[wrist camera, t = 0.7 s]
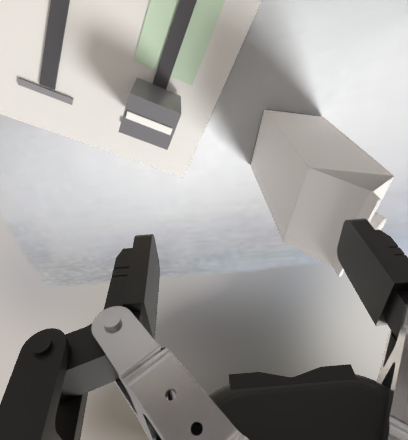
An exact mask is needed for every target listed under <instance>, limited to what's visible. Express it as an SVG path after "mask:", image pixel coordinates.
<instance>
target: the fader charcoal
mask: <svg viewBox="0 0 408 440" xmlns="http://www.w3.org/2000/svg"><path fill="white" fill-rule="evenodd" d="M180 116H181V96H180V95H177V94H175V93H173V92H170V91H168V90H166V89H163V88H161V87H159V86H156V85H154V84H152V83H149V82H147V81H145V80H142V79H140V78H138V77H137V79H136V81H135V83H134V85H133V87H132V89H131V91H130V93H129V97H128V100H127V104H126V107H125V111H124V114H123V117H122V121H121V124H120V128H119V131H118V132H120V133H123V134H125V135H128V136H131V137H133V138H136V139H139V140H142V141H144V142H147V143H150V144H152V145H155V146H158V147H160V148H163V149H166V150H168V147H169V145H170V142H171V140H172V137H173V134H174V132H175V129H176V127H177V124H178V122H179V119H180Z"/></svg>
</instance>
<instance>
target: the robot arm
mask: <svg viewBox="0 0 408 440" xmlns="http://www.w3.org/2000/svg"><path fill="white" fill-rule="evenodd" d="M337 256H338V260H339V262H340V264H341V266H342V267H343V269H344V271H345V272H346V274H347V276H348V278H349V280H350V281H351V283H352V285H353V287H354V288H355V290H356V292H357V294H358V295H359V297H360V299H361V301H362V302H363V304H364V306H365V308H366V309H367V311H368V313H369V314H370V316H371V318H372V320H373V321H374V323H375V325H376V326H379V325H388V326H389V327H390V329H391V331H390V333H389V335H388V339H387V343H386V347H385V351H384V355H383V360H382V364H381V368H380V372H379V375H378V378H377V381H374V380H372V379H369V378H366V377H363V376H360V375H356V374H355V373H354V371H353V369H352V367H351V365H338V366H326V367H320V368H317V369H314V370H311V371H309V372H306V373H303V374H301V375H298V376H296V377H284V376H278V375H272V374H266V373H261V372H255V373H243V374H231V375H229V384H227V385H225V386H222V387H220V388H219V389H217V390H215V391H214V392H213V393H211V394H210V395H209V396H208V395H207V394H206V392H205V391H204V390H203V389H202V388H201V386H200V385H199V384H198V383H197V382H196V381H195V379H194V378H193V377H192V376H191V375H190V374H189V372H188V371H187V370H186V369H185V368H184V366H183V365H182V364H181V363H180V362H179V361H178V359H177V358H176V357H175V356H174V355H173V353H172V352H171V351H170V350H169V349H167V348H166V347H164V348H161V347H160V346H159V345H158V344H157V342H156V341H155V329H156V316H157V303H158V290H159V277H160V267H159V259H158V254H157V249H156V244H155V238H154V235H153V234H150V235H137V236H135V238H134V244H133V248H127V249H123V250H122V251H121V253H120V254H119V255H118V256H117V258H116V261H115V265H114V270H113V274H112V278H111V282H110V286H109V291H108V295H107V299H106V303H105V307H104V310H103V311H102V312H100V313H99V314H98V315H97V316H96V317H95V319H94V321H93V323H92V324H90V325H89V326H87V327H85V328H82V329H79V330H77V331H74V332H71V333H68V334H66V335H65V334H64V333H63V332H62V331H61V330H58V329H53V328H52V329H45V330H42V331H40V332H38V333H36V334H34V335H33V336H32V337H30V338H29V339H28V340H27V341H26V342H25V344H24V345H23V347H22V349H21V351H20V353H19V356H18V359H17V361H16V364H15V367H14V369H13V372H12V375H11V377H10V380H9V383H8V385H7V388H6V391H5V393H4V396H3V399H2V401H1V404H0V440H80V437H81V431H82V425H83V419H84V413H85V407H86V401H87V396H88V392H89V391H92V390H94V389H96V388H99V387H101V386H104V385H106V384H108V383H111V382H113V381H114V382H115V383H116V385H117V386H118V388H119V389H120V391H121V393H122V394H123V396H124V398H125V399H126V401H127V402H128V404H129V405H130V407H131V408H132V410H133V412H134V413H135V415H136V416H137V418H138V420H139V421H140V423H141V425H142V427H143V429H144V431H145V433H146V434H147V436H148V438H149V439H150V440H408V257H407V256H406V255H404V252H403V251H402V250H401V249H400V248H398V245H397V244H396V243H395V242H394V240H393V239H392V238H391V237H390V236H388V235H387V234H385V233H384V232H382V231H381V230H379V229H378V230H375V229H374V228H373V227H372V225H371V224H370V223H369V221H368V220H367V219H365V218H363V219H350V220H345V222H344V224H343V227H342V231H341V235H340V239H339V243H338V246H337Z"/></svg>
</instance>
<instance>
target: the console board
mask: <svg viewBox="0 0 408 440" xmlns="http://www.w3.org/2000/svg"><path fill="white" fill-rule="evenodd" d="M261 1H262V0H0V114H2V115H5V116H7V117H10V118H13V119H16V120H19V121H22V122H25V123H27V124H30V125H33V126H36V127H39V128H42V129H45V130H48V131H50V132H53V133H56V134H59V135H62V136H65V137H68V138H70V139H73V140H76V141H79V142H82V143H85V144H88V145H90V146H93V147H96V148H99V149H102V150H105V151H108V152H110V153H113V154H116V155H119V156H122V157H125V158H128V159H130V160H133V161H136V162H139V163H142V164H145V165H148V166H151V167H153V168H156V169H159V170H162V171H165V172H168V173H171V174H173V175H176V176H179V177H182V178H184V176H185V174H186V171H187V169H188V167H189V165H190V162H191V160H192V158H193V156H194V153H195V151H196V149H197V146H198V144H199V142H200V140H201V137H202V135H203V133H204V130H205V128H206V126H207V124H208V121H209V119H210V117H211V115H212V112H213V110H214V108H215V105H216V103H217V101H218V99H219V96H220V94H221V92H222V90H223V87H224V85H225V83H226V80H227V78H228V76H229V74H230V71H231V69H232V67H233V65H234V62H235V60H236V58H237V55H238V53H239V51H240V49H241V46H242V44H243V42H244V39H245V37H246V35H247V33H248V30H249V28H250V26H251V24H252V21H253V19H254V17H255V14H256V12H257V10H258V8H259V5H260V3H261ZM137 77H138V78H140V79H142V80H145V81H147V82H149V83H152V84H154V85H156V86H159V87H161V88H163V89H166V90H168V91H170V92H173V93H175V94H177V95H180V96H181V116H180V119H179V122H178V124H177V127H176V129H175V132H174V134H173V137H172V140H171V142H170V145H169V147H168V150H166V149H163V148H160V147H158V146H155V145H152V144H150V143H147V142H144V141H142V140H139V139H136V138H133V137H131V136H128V135H125V134H123V133H120V132H118V131H119V128H120V124H121V121H122V117H123V114H124V111H125V107H126V104H127V100H128V97H129V93H130V91H131V89H132V87H133V85H134V83H135V81H136V79H137Z"/></svg>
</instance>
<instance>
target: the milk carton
mask: <svg viewBox="0 0 408 440" xmlns="http://www.w3.org/2000/svg"><path fill="white" fill-rule="evenodd" d="M251 168H252V170H253V173H254V175H255V177H256V179H257V182H258V184H259V186H260V189H261V191H262V193H263V196H264V198H265V200H266V203H267V205H268V207H269V210H270V212H271V214H272V217H273V219H274V221H275V224H276V226H277V228H278V231H279V233H280V235H281V238H282V240H283V242H285V243H287V244H288V245H290V246H292V247H294V248H296V249H298V250H300V251H302V252H304V253H306V254H308V255H310V256H312V257H314V258H316V259H318V260H320V261H322V262H324V263H326V264H328V265H330V266H332V267H333V268H334V270H335V272H336V273H337V275H338V276H339V277H340V276H342V274H343V272H344V269H343V267H342V266H341V264H340V262H339V260H338V256H337V246H338V243H339V239H340V235H341V231H342V227H343V224H344V222H345V220H350V219H363V218H365V219H367V220H368V221H369V223H370V224H371V225H372V227H373V228H374V229H375V230H378V229H379V230H381V229H382V228H383V226H384V224H385V222H386V217H384V216H382V215H379V214H378V213H376V210H377V208H378V206H379V204H380V202H381V200H382V198H383V197H384V195H385V193H386V191H387V189H388V187H389V185H390V183H391V181H392V179H393V177H394V176H393V175H392V174H391V173H390V172H389V171H387V170H386V169H385V168H384V167H383V166H382V165H380V164H379V163H378V162H377V161H376V160H374V159H373V158H372V157H371V156H370V155H368V154H367V153H366V152H365V151H364V150H362V149H361V148H360V147H359V146H358V145H356V144H355V143H354V142H353V141H352V140H350V139H349V138H348V137H347V136H346V135H344V134H343V133H342V132H341V131H340V130H338V129H337V128H336V127H335V126H334V125H332V124H331V123H330V122H329V121H328V120H326V119H325V118H324V117H321V116H313V115H305V114H297V113H289V112H281V111H272V110H264V113H263V116H262V121H261V125H260V129H259V133H258V137H257V141H256V146H255V150H254V154H253V158H252V162H251Z"/></svg>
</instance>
